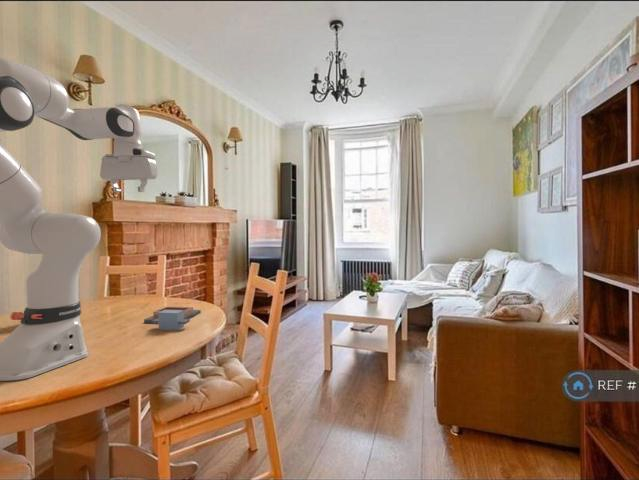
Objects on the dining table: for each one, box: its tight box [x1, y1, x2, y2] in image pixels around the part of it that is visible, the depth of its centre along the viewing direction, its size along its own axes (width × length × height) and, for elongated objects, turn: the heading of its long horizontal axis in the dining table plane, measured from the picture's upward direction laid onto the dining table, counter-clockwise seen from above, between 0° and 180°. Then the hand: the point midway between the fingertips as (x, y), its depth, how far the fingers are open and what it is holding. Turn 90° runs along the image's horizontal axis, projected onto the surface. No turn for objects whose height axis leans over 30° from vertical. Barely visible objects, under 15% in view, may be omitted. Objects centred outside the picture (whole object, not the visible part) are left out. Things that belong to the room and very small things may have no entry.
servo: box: [152, 310, 191, 331], centre depth 118 cm, size 4×12×6 cm, turn 82°
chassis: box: [143, 306, 201, 324], centre depth 131 cm, size 16×14×3 cm
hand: (129, 192), depth 121 cm, fingers open, 8 cm apart
